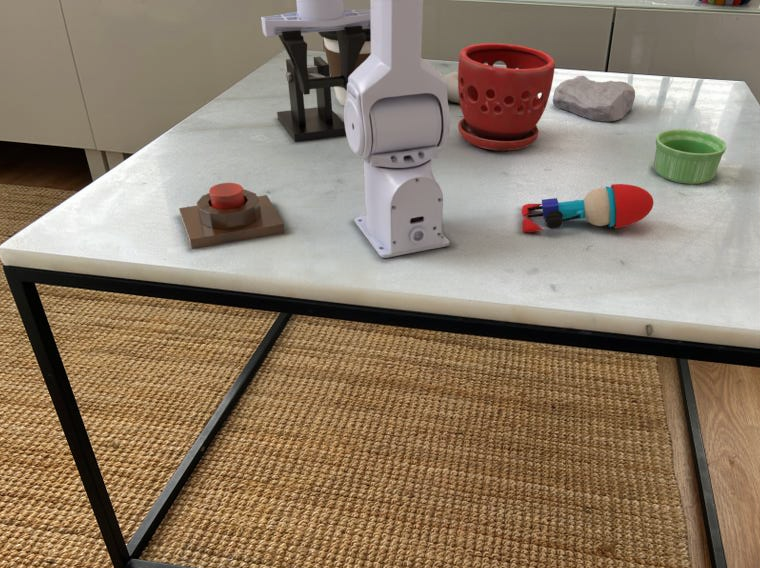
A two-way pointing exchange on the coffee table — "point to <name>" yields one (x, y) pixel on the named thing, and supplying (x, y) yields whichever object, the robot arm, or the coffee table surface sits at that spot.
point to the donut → (452, 87)
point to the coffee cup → (334, 57)
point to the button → (227, 196)
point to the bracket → (310, 109)
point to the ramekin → (688, 155)
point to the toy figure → (594, 208)
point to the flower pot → (503, 94)
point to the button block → (230, 221)
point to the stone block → (595, 98)
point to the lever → (323, 79)
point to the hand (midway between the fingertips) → (326, 90)
